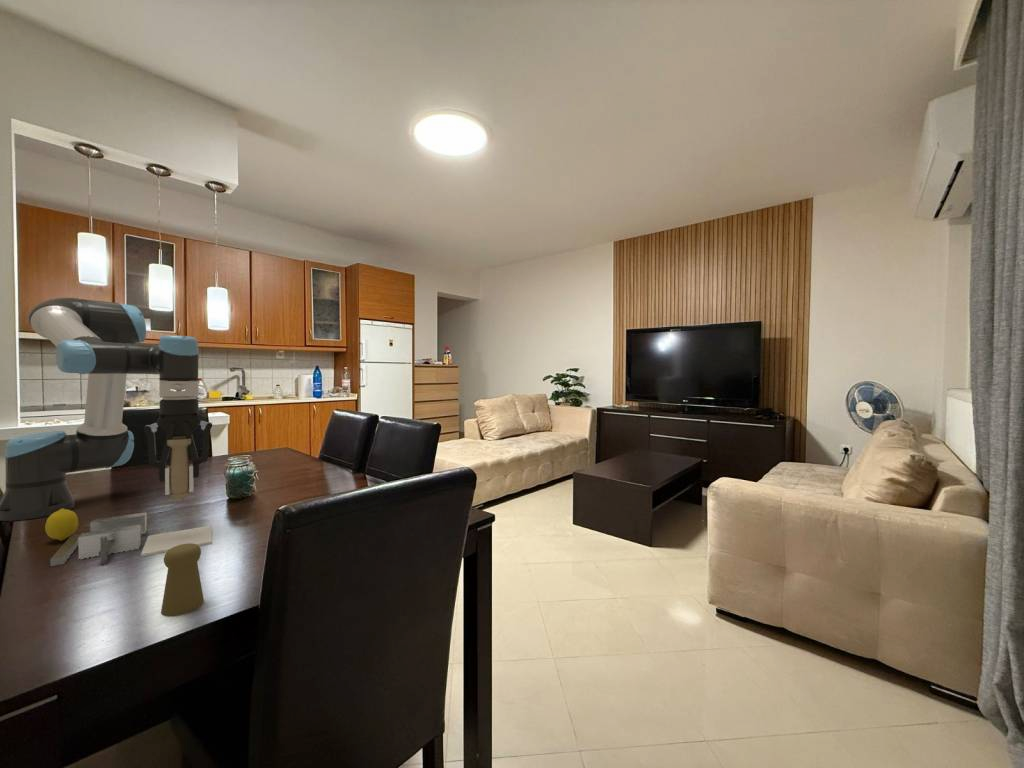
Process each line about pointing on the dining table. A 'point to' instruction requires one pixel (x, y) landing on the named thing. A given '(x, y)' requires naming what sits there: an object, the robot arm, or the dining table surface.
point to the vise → (104, 538)
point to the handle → (179, 467)
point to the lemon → (61, 524)
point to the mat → (177, 540)
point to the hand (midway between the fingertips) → (179, 491)
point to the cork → (182, 580)
